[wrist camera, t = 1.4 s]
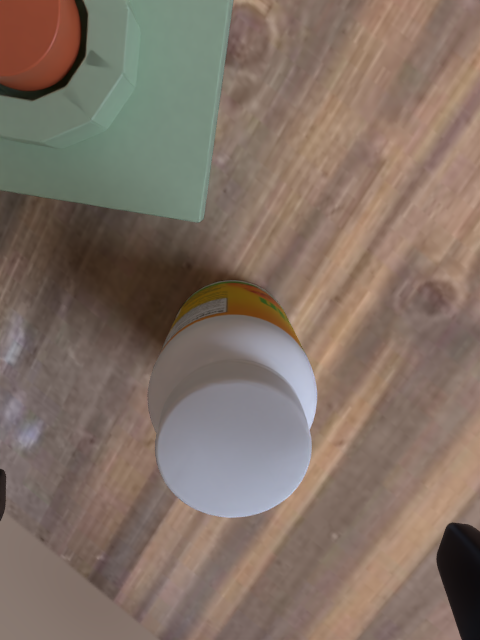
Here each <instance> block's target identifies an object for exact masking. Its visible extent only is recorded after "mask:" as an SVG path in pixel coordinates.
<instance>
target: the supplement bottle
mask: <svg viewBox="0 0 480 640" xmlns="http://www.w3.org/2000/svg"><path fill="white" fill-rule="evenodd" d="M316 404H317V388H316V381H315V377H314V374H313V371H312V368H311V365H310V362H309V360H308V358H307V356H306V354H305V352H304V350H303V348H302V346H301V344H300V342H299V340H298V338H297V336H296V334H295V332H294V330H293V328H292V326H291V324H290V322H289V320H288V318H287V316H286V314H285V312H284V311H283V309H282V307H281V306H280V304H279V303H278V302H277V300H276V299H275V298H274V297H273V296H272V295H271V294H269V293H268V292H267V291H265V290H264V289H262V288H261V287H259V286H256V285H254V284H252V283H248V282H244V281H238V280H226V281H220V282H216V283H212V284H210V285H207V286H205V287H203V288H201V289H199V290H198V291H196V292H195V293H194V294H193V295H191V296H190V297H189V298H188V299H187V300H186V302H185V303H184V304H183V306H182V307H181V309H180V310H179V312H178V314H177V316H176V318H175V320H174V322H173V324H172V327H171V329H170V331H169V333H168V336H167V338H166V340H165V342H164V345H163V347H162V349H161V351H160V354H159V356H158V358H157V360H156V362H155V365H154V367H153V370H152V374H151V377H150V381H149V387H148V409H149V414H150V418H151V421H152V424H153V426H154V429H155V431H156V433H157V434H156V440H155V456H156V461H157V465H158V468H159V471H160V474H161V476H162V478H163V480H164V482H165V483H166V485H167V486H168V487H169V489H170V490H171V491H172V492H173V493H174V494H175V495H176V496H177V497H178V498H179V499H180V500H181V501H182V502H184V503H185V504H187V505H189V506H190V507H192V508H194V509H196V510H198V511H201V512H203V513H206V514H210V515H214V516H220V517H230V518H233V517H246V516H250V515H254V514H258V513H261V512H264V511H266V510H269V509H271V508H273V507H275V506H276V505H278V504H279V503H281V502H282V501H284V500H285V499H286V498H288V497H289V496H290V495H291V494H292V493H293V492H294V490H295V489H296V488H297V487H298V486H299V484H300V483H301V481H302V479H303V478H304V476H305V473H306V471H307V469H308V466H309V462H310V458H311V448H312V442H311V435H310V428H311V425H312V422H313V419H314V416H315V411H316Z"/></svg>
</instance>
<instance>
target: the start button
mask: <svg viewBox="0 0 480 640" xmlns="http://www.w3.org/2000/svg"><path fill="white" fill-rule="evenodd" d="M80 43H81V22H80V16H79V12H78V8H77V5H76V2H75V0H0V84H2V85H4V86H6V87H9V88H12V89H16V90H20V91H37V90H42V89H45V88H48V87H50V86H52V85H54V84H56V83H57V82H59V81H60V80H61V79H62V78H63V77H64V76H65V75H66V74H67V73H68V72H69V71H70V69H71V68H72V66H73V64H74V62H75V60H76V58H77V55H78V52H79V48H80Z"/></svg>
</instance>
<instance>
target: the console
mask: <svg viewBox="0 0 480 640" xmlns="http://www.w3.org/2000/svg"><path fill="white" fill-rule="evenodd" d="M75 2H76V5H77V8H78V12H79V16H80V22H81V43H80V48H79V52H78V55H77V58H76V60H75V62H74V64H73V66H72V68H71V69H70V71H69V72H68V73H67V74H66V75H65V76H64V77H63V78H62V79H61V80H60V81H59V82H57V83H56V84H54V85H52V86H50V87H48V88H45V89H42V90H37V91H20V90H16V89H12V88H9V87H6V86H4V85H2V84H0V190H1V191H7V192H13V193H19V194H26V195H32V196H38V197H44V198H50V199H56V200H62V201H69V202H75V203H81V204H87V205H93V206H99V207H105V208H111V209H118V210H124V211H130V212H136V213H142V214H148V215H154V216H160V217H167V218H173V219H179V220H185V221H191V222H197V223H199V222H200V221H202V220H203V219H204V213H205V206H206V198H207V191H208V183H209V176H210V169H211V161H212V154H213V147H214V139H215V132H216V124H217V117H218V110H219V102H220V95H221V87H222V80H223V73H224V65H225V58H226V50H227V43H228V36H229V28H230V21H231V13H232V6H233V0H75Z"/></svg>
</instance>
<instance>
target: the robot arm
mask: <svg viewBox="0 0 480 640" xmlns="http://www.w3.org/2000/svg"><path fill="white" fill-rule="evenodd" d="M5 502H6V474H5V471H4V470H2V469H0V521H1V519H2V516H3V514H4V510H5ZM437 566H438V570H439V573H440V576H441V579H442V582H443V585H444V588H445V591H446V594H447V597H448V600H449V603H450V606H451V609H452V612H453V615H454V618H455V621H456V624H457V627H458V630H459V633H460V636H461V639H462V640H480V531H478V530H477V529H476V528H474V527H473V526H471V525H468V524H461V523H450V524H448V525H447V527H446V529H445V532H444V535H443V538H442V541H441V543H440V546H439V549H438V552H437Z"/></svg>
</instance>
